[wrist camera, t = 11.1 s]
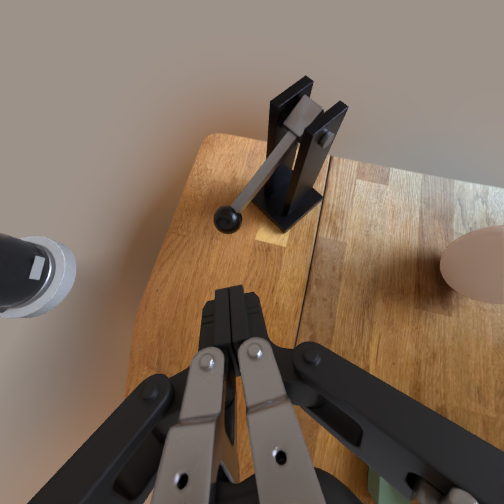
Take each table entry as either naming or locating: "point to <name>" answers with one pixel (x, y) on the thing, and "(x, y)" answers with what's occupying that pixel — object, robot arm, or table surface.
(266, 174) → the lever
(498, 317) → the table surface
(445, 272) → the egg
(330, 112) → the bracket
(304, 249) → the table surface
